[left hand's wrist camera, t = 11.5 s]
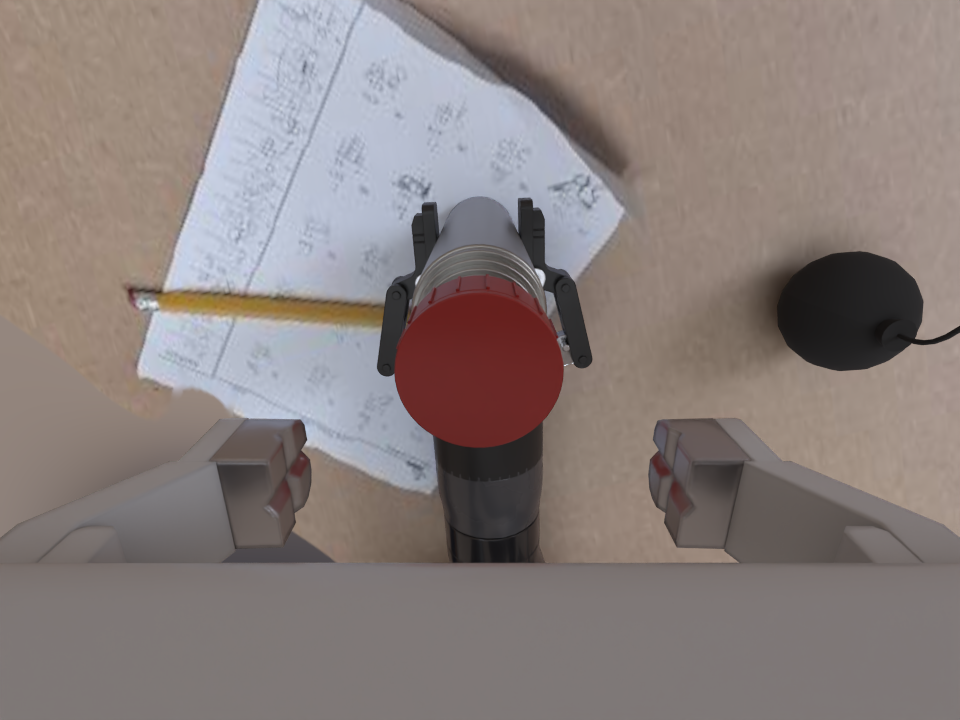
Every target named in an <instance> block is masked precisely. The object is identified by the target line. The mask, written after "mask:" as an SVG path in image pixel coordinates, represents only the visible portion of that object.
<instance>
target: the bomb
mask: <svg viewBox="0 0 960 720" xmlns="http://www.w3.org/2000/svg"><path fill="white" fill-rule="evenodd" d="M777 311H778V327H779V329H780V331H781V333H782V335H783V337H784V339H785V341H786V343H787V345H788V346H789V347H790V348H791V349H792V350H793V351H794V352H796V353H797V354H798V355H799V356H801V357H802V358H803V359H804V360H806V361H807V362H809V363H811V364H814V365H817V366H820V367H824V368H828V369H831V370H837V371H847V370H861V369H868V368H870V367H873V366H876V365H879V364H881V363H884V362H886V361H888V360H890V359H891V358H893V357H894V356H896V355H897V354H899V353H900V352H902V351H903V350H904V349H905V348H906V347H908V346H909V345H910V344H911V343H913V344H918V345H929V344H936V343H939V342H942V341H945V340H947V339H950V338H951V337H953V336H955V335H956V334H958V333H960V326H959V327H957V328H955V329H954V330H952V331H950V332H949V333H947V334H945V335H943V336H940V337H938V338H935V339H931V340H918V339H915V337H916V335H917V331H918V329H919V327H920V325H921V322H922V313H923V299H922V296H921V293H920V290H919V288H918V285H917V283H916V281H915V279H914V278H913V277H912V276H911V275H909V274H908V273H907V272H906V271H905V270H904V269H903V268H902V267H901V266H900V265H899V264H897V263H896V262H895V261H892V260H890V259H888V258H885V257H881V256H878V255H875V254H872V253H868V252H860V251H859V252H845V253H835V254H830V255H828V256H825V257H823V258H821V259H818V260H816V261H813V262H811V263H809V264H808V265H806V266H805V267H804V268H803V269H801V270H800V271H799V272H797V273H796V274H795V275H794V276H793V277H792V278H791V280H790V281H789V282H788V284H787V285H786V286H785V288H784V289H783V291H782V294H781V297H780V300H779V303H778V306H777Z"/></svg>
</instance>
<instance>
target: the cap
mask: <svg viewBox="0 0 960 720" xmlns="http://www.w3.org/2000/svg"><path fill="white" fill-rule="evenodd" d="M407 323H408V324H407V327H406V329H404V330H403V332H402V335H401V337H400V339H399V342H398V344H397V347H396V349H397V353H396V358H395V369H394V372H395V382H396V387H397V391H398V393H399V396H400V399H401V401H402V403H403V405H404V407H405V408H406V410H407V411H408V413H409V414H410V415H411V417H412V418H413V419H414V420H415V421H416V422H417V423H418V424H419V425H420V426H421V427H422V428H424V429H425V430H426V431H427V432H429V433H431V434H432V435H434V436H435V437H437V438H439V439H442V440H444V441H446V442H449V443H452V444H455V445H460V446H465V447H474V448H485V447H493V446H498V445H503V444H506V443H509V442H512V441H514V440H517V439H519V438H521V437H523V436H524V435H526V434H527V433H529V432H530V431H532V430H533V429H534V428H536V427H537V426H538V425H539V424H540V423H541V422H542V421H543V420H544V419H545V418H546V417H547V415H548V414H549V413H550V411H551V410H552V408H553V407H554V405H555V403H556V401H557V399H558V396H559V393H560V391H561V387H562V382H563V371H564V368H563V365H564V362H563V358H562V354H561V349H560V347H559V344H558V342H557V338H559V337H558V335H557V333H556V330H555V328H554V325H553V323H552V321H551V319H548V317H547V315H546V313H545V312H544V310H543V308H542V307H541V306H540V304H539V301H538V299H537V298H536V297H535V298H533V297H532V296H531V295H530V294H529V293H528V292H527V291H525V290H524V289H523V288H521V287H519V286H518V285H516V282H514V281H513V283H512V282H509V281H507V280H504V279H501V278H497V277H492V276H489V274H486V276H467V277H461V276H458V278H457V279H454V280H451V281H449V282H446V283H444V284H442V285H441V286H439V287H437V288H435V287H434V288H432V291H431V292H430V293H429V294H428V295H427V296H426V297H425V298H424V299H423V300H422V301H421V302H420V303H419V304H418V306H416V305H415V306H414V308H413V310H412V313H411V315H410V317H409V320H408V322H407Z"/></svg>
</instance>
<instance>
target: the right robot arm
mask: <svg viewBox="0 0 960 720" xmlns="http://www.w3.org/2000/svg"><path fill="white" fill-rule="evenodd" d="M518 231H519V236H520V238H521V241H522V243H523V245H524V247H525V249H526V251H527V254H528V256H529V258H530V260H531V262H532V264H533V267H534V269H535V271H536V273H537V275H538V277H539V280H540V282H541V284H542V287H543V289H544V290H545V291H549V292H552V293H554V297H555V301H556V305H557V309H558V313H559V317H560V321H561V325H562V329H563V330H562V331H559V332H557V335H558V337H559V338H557V342H558V344H559V347H560V349H561V354H562V358H563V362H564V365H563V366H566V365H570V364H573V363H574V365H575V366H576V367H578V368H586V367H588V366H589V365H590V364H591V362H592V355H591V350H590V346H589V341H588V337H587V333H586V328H585V324H584V320H583V315H582V311H581V306H580V302H579V298H578V293H577V289H576V285H575V282H574V281H573V280H572V278H571V277H570V275H569V274H568V273H567V272H566V271H565V270H563V269H555V268H552V267H549V266H547V265H546V264H545V219H544V216H543V214H542V211H541V210H540V209H539V208H533V201H532V199H531V198H518ZM412 234H413V245H414V255H415V265H416V268H415V271H414V272H412V273H410V274H408V275H406V276H399V277H397V278H396V279H395V280H394V281H393V283H392V285H391V286H390V287H389V289H388V290H387V293H386V301H385V309H384V316H383V324H382V332H381V340H380V348H379V356H378V363H377V369H378V372H379V373H380V374H381V375H383V376H391V375H393V374H394V373H395V372H394V369H395V358H396V353H397V349H396V347H397V344H398V342H399V339H400V337H401V335H402V332H403V330H404V329H405V328H406V321H407V315H408V308H409V301H410V299H412V298H413V294H414V290H415V288H416V285H417V282H418V280H419V278H420V276H421V274H422V272H423V270H424V267H425V265H426V263H427V261H428V259H429V257H430V255H431V253H432V250H433V248H434V246H435V244H436V242H437V240H438V238H439V226H438V213H437V204H436V202H425V203H423V204H422V213H417V214H416V215H415V216H414V219H413V222H412ZM433 439H434V449H435V459H436V470H437V480H438V487H439V493H440V497H441V500H442V504H443V508H444V518H445V528H446V539H447V549H448V556H449V561H450V563H545V561H544V558H543V555H542V553H541V550H540V547H539V502H540V496H541V490H542V478H543V458H542V451H543V421H542V422H541V423H540V424H539V425H538V426H537V427H536V428H534V429H533V430H532V431H530V432H529V433H527V434H526V435H524V436H523V437H521V438H519V439H517V440H514V441H512V442H509V443H506V444H503V445H498V446H493V447H485V448H474V447H465V446H460V445H455V444H452V443H449V442H446V441H444V440H442V439H439V438H437V437H435V436H434V435H433Z"/></svg>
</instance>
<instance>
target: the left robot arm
mask: <svg viewBox="0 0 960 720" xmlns="http://www.w3.org/2000/svg"><path fill="white" fill-rule="evenodd" d="M306 441H307V437H306V431H305V426H304V424H303V422H302V421H301V420H300V419H249V418H229V419H219V420H218V421H217V422H216V423H215V424H214V425H213V426H212V427H211V428H210V429H209V430H208V431H207V432H206V434H204V435H203V436H202V437H201V438H200V439H199V440H198V441H197V442H196V443H195V444H194V445H193V446H192V447H191V448H190V449H189V450H188V451H187V452H186V453H185V454H184V455H183V456H182V457H181V458H180V459H179V460H178V461H169V462H166V463H164V464H161V465H159V466H156V467H154V468H152V469H149V470H147V471H144V472H142V473H140V474H137V475H135V476H132V477H130V478H127V479H125V480H123V481H120V482H118V483H115V484H113V485H111V486H108V487H106V488H103V489H101V490H99V491H96V492H94V493H91V494H89V495H87V496H84V497H82V498H79V499H77V500H74V501H72V502H70V503H67V504H65V505H62V506H60V507H58V508H55V509H53V510H50V511H48V512H46V513H43V514H41V515H38V516H36V517H33V518H31V519H29V520H26V521H24V522H21V523H19V524H17V525H16V526H15V527H13V528H12V529H11V530H10V531H8V532H7V533H6V534H5V535H3V536H2V537H1V538H0V720H960V537H958V536H957V535H956V534H955V533H953V532H952V531H951V530H950V529H948V528H947V527H946V526H945V525H943V524H941V523H938V522H936V521H933V520H931V519H929V518H926V517H924V516H921V515H919V514H917V513H914V512H912V511H909V510H907V509H905V508H902V507H900V506H897V505H895V504H893V503H890V502H888V501H885V500H883V499H880V498H878V497H876V496H873V495H871V494H868V493H866V492H864V491H861V490H859V489H856V488H854V487H852V486H849V485H847V484H844V483H842V482H840V481H837V480H835V479H832V478H830V477H828V476H825V475H823V474H820V473H818V472H816V471H813V470H811V469H808V468H806V467H804V466H801V465H799V464H796V463H794V462H792V461H782V460H781V459H780V458H779V457H778V456H777V455H776V454H775V453H774V452H773V451H772V450H771V449H770V448H769V447H768V446H767V445H766V444H765V443H764V442H763V441H762V440H761V439H760V438H759V437H758V436H757V435H756V434H755V433H754V432H753V431H752V430H751V429H750V428H749V427H748V426H747V425H746V424H745V423H744V422H743V421H742V420H740V419H737V418H720V419H713V418H705V419H663V420H659V421H657V424H656V427H655V430H654V436H653V441H654V443H655V444H656V446H657V448H658V449H659V451H658V452H657V453H656V454H655V455H654V456H653V457H652V458H651V459H650V465H649V474H648V475H649V488H650V492H651V496H652V499H653V501H654V503H655V505H656V507H657V508H659V509H660V510H662V511H663V512H665V513H666V514H665V521H664V523H665V525H666V527H667V529H668V531H669V533H670V535H671V537H672V539H673V541H674V543H675V545H676V547H677V548H713V549H725V550H724V551H725V552H727V553H728V554H729V555H730V556H732V557H733V558H734V559H736V560H737V561H738V562H739V563H221V562H222V561H223V560H225V559H226V558H227V557H229V556H230V555H231V554H232V553H234V552H235V549H246V548H283V547H284V545H285V543H286V541H287V539H288V537H289V535H290V533H291V531H292V529H293V527H294V525H295V523H296V521H295V514H294V513H295V512H297V511H298V510H300V509H301V508H303V507H304V505H305V503H306V501H307V499H308V496H309V491H310V487H311V464H310V459H309V458H308V457H307V456H306V455H305V454H304V453H303V452H302V451H301V449H302V448H303V446H304V444H305V443H306Z"/></svg>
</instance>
